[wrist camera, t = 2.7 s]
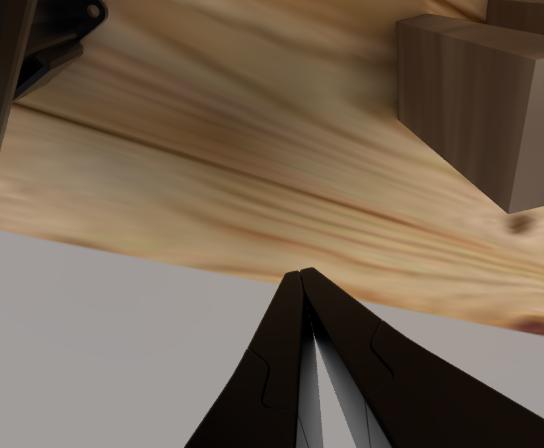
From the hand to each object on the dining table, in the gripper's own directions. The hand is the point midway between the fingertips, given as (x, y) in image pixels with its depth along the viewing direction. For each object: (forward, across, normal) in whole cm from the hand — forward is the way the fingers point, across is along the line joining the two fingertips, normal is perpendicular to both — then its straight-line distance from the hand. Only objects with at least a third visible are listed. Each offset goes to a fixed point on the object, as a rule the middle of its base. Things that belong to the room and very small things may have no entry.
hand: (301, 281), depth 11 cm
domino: (+12, +8, +2) cm, 15 cm away
